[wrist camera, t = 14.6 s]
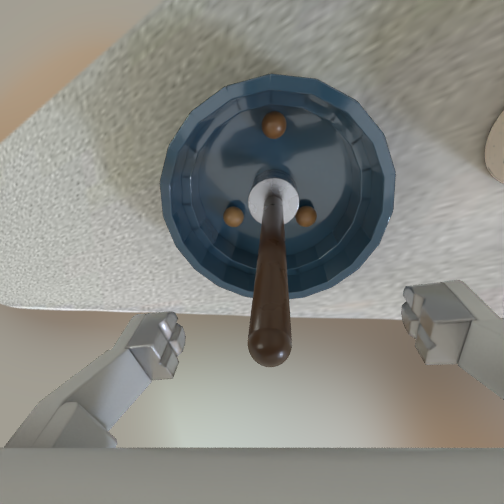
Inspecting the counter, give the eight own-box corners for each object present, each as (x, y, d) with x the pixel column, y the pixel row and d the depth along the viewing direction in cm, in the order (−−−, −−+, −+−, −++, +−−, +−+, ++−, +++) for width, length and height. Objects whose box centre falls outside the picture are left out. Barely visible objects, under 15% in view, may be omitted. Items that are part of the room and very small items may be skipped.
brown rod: (246, 174, 23) (186, 322, 8) (293, 164, 23) (332, 307, 7) (256, 217, 26) (224, 400, 10) (299, 210, 25) (339, 396, 9)
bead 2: (267, 118, 21) (257, 109, 20) (289, 114, 21) (281, 104, 19) (267, 143, 22) (257, 137, 20) (289, 139, 21) (281, 133, 19)
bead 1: (218, 207, 24) (234, 208, 23) (231, 204, 26) (247, 205, 25) (219, 228, 25) (235, 229, 24) (232, 224, 26) (248, 225, 25)
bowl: (156, 111, 22) (119, 114, 17) (369, 53, 19) (405, 36, 14) (214, 273, 30) (201, 308, 25) (367, 253, 27) (388, 288, 22)
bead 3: (316, 216, 25) (302, 202, 25) (324, 215, 23) (309, 200, 23) (302, 230, 25) (288, 217, 25) (309, 231, 23) (294, 216, 23)
